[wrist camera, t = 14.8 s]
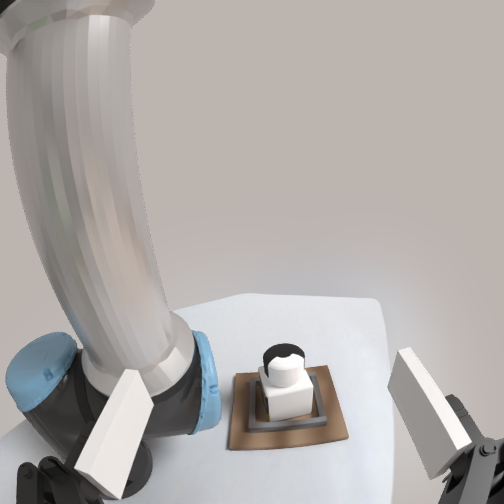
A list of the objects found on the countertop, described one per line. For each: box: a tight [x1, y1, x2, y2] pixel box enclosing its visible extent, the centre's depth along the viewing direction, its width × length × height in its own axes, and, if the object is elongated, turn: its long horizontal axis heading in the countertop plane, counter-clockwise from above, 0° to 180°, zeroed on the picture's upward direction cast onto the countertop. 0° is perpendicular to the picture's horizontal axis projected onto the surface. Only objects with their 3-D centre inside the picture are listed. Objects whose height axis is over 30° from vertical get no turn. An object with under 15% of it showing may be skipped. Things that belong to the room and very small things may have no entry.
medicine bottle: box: [258, 343, 313, 422], centre depth 39 cm, size 7×7×12 cm
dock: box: [229, 365, 349, 450], centre depth 40 cm, size 18×18×2 cm
